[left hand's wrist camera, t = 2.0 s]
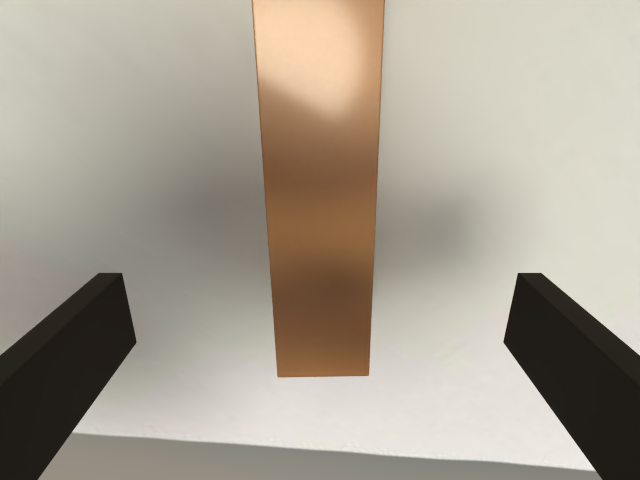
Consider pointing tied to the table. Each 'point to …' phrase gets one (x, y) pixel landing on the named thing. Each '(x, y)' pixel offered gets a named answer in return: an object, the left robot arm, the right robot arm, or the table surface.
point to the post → (320, 176)
